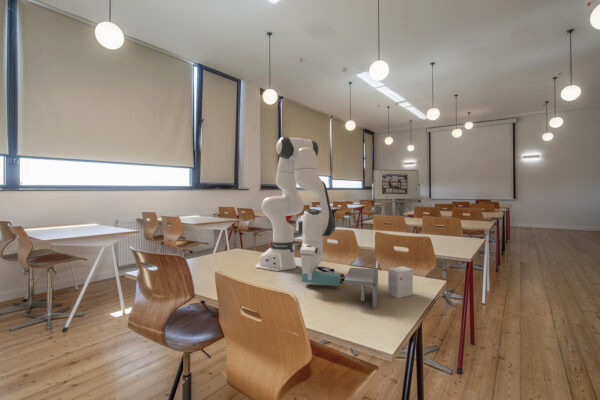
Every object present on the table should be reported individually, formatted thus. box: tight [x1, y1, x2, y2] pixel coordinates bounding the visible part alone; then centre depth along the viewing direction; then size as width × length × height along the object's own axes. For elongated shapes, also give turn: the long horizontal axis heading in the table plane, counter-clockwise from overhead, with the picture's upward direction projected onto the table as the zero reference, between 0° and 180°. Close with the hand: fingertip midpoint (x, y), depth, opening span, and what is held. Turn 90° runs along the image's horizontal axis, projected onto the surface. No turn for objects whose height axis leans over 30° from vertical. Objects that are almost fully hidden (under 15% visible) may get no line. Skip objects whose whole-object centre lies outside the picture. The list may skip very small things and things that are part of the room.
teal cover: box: [301, 270, 341, 287], centre depth 130 cm, size 16×5×4 cm, turn 72°
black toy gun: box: [317, 265, 346, 284], centre depth 148 cm, size 27×2×10 cm
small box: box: [387, 265, 414, 299], centre depth 119 cm, size 8×6×10 cm
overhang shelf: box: [343, 267, 379, 310], centre depth 115 cm, size 11×18×10 cm, turn 163°
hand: (312, 277), depth 131 cm, fingers closed on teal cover, 5 cm apart
